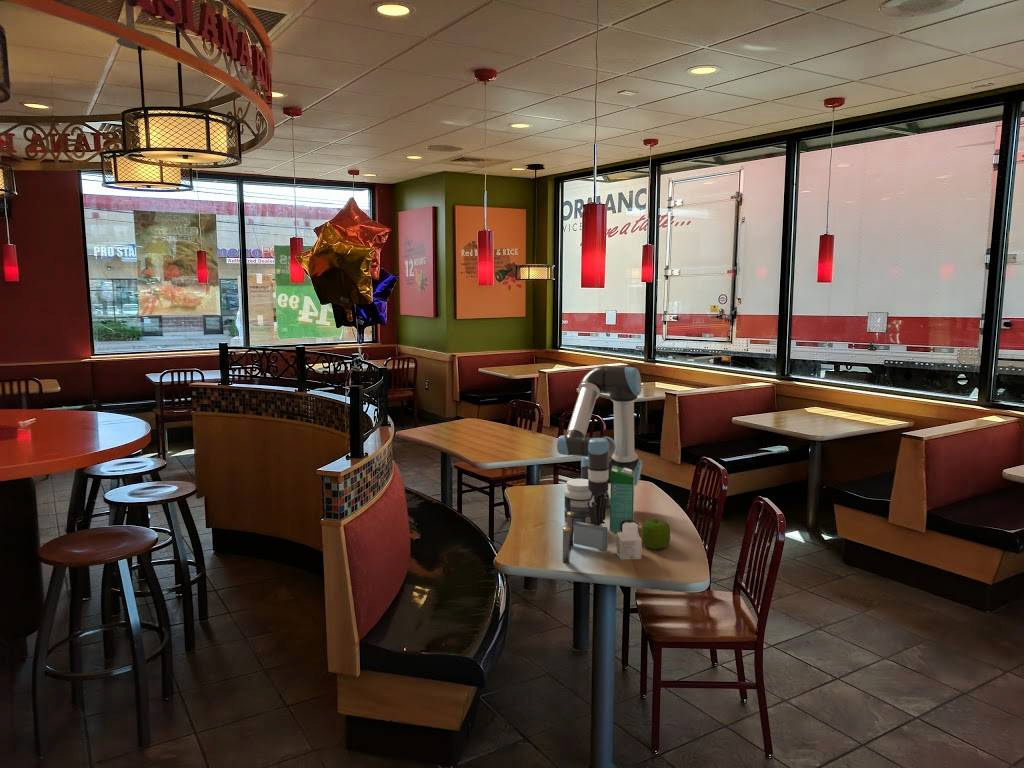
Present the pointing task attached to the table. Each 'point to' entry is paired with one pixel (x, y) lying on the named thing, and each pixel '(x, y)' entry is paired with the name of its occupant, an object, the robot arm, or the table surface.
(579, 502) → the supplement tub
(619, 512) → the milk carton
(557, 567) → the table surface
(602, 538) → the gate
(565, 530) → the gate posts
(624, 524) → the container
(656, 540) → the apple
